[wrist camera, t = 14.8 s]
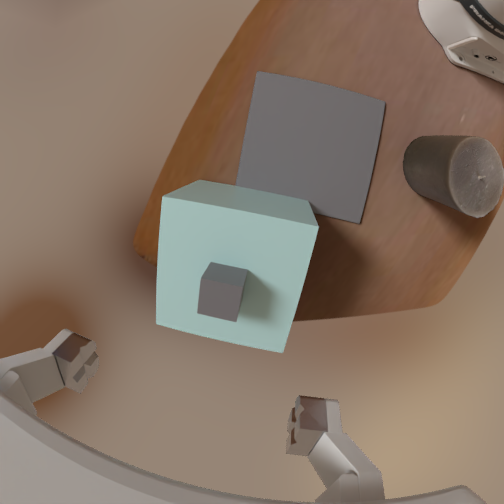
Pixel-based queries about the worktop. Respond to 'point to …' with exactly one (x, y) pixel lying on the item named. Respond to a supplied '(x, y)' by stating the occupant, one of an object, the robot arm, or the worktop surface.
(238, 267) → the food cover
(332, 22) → the worktop surface
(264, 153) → the mat
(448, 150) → the pillar candle
